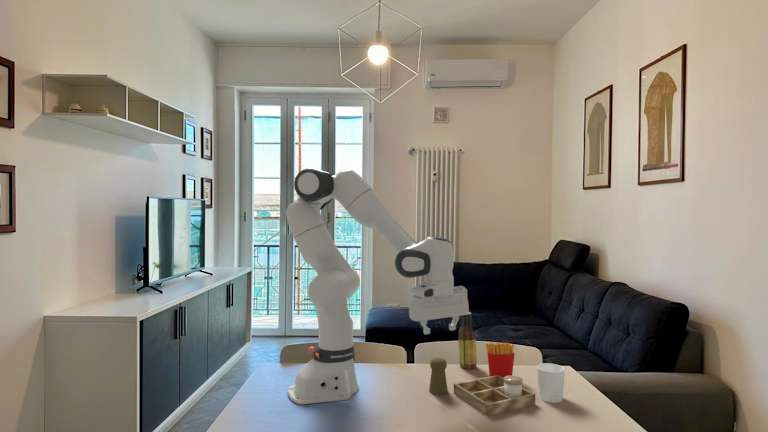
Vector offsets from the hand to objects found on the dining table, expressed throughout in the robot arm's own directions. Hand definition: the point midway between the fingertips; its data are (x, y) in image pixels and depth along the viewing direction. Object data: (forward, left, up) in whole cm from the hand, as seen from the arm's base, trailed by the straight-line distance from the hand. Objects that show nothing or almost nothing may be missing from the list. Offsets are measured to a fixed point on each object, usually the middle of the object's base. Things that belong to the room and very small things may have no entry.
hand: (439, 331), depth 148 cm
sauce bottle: (+21, +16, -20) cm, 33 cm away
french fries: (+23, 0, -20) cm, 31 cm away
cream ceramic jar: (+16, -16, -19) cm, 29 cm away
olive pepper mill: (-1, 0, -20) cm, 20 cm away
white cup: (+27, -19, -20) cm, 39 cm away
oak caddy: (+11, -12, -20) cm, 26 cm away
